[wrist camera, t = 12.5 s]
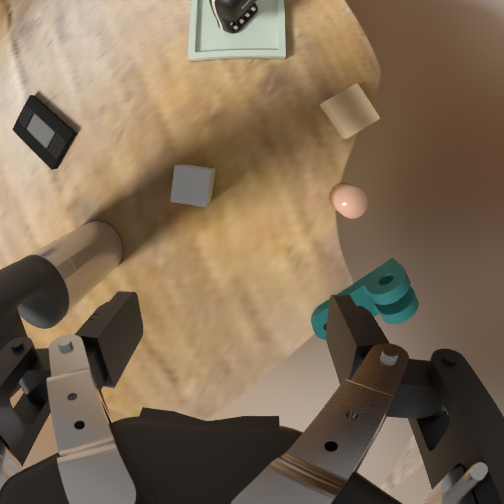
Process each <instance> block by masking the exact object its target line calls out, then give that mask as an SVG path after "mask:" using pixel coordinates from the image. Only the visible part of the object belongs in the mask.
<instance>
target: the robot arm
mask: <svg viewBox="0 0 504 504" xmlns="http://www.w3.org/2000/svg"><path fill="white" fill-rule="evenodd" d="M122 253H123V251H122V243H121V240H120V238H119V235H118V234H117V232H116V231H115V230H114V229H113V228H112V227H111V226H110V225H108V224H107V223H104V222H101V221H92V222H89V223H87V224H85V225H83V226H82V227H80V228H77V229H76V230H74V231H72V232H70V233H68V234H66V235H64V236H62V237H60V238H59V239H57V240H55V241H53V242H51V243H49V244H48V245H46V246H44V247H42V248H41V249H39V250H37V251H36V252H34V253H32V254H30V255H29V256H27V257H25V258H23V259H22V260H20V261H18V262H15V263H13V264H11V265H9V266H7V267H5V268H3V269H1V270H0V504H402V503H401V502H399V501H398V500H396V499H394V498H393V497H391V496H390V495H388V494H387V493H386V492H384V491H383V490H381V489H380V488H378V487H377V486H376V485H374V484H373V483H371V482H370V481H368V480H367V479H366V478H364V477H363V476H361V475H360V474H359V473H357V471H358V470H359V468H360V466H361V465H362V463H363V461H364V459H365V457H366V456H367V454H368V452H369V450H370V448H371V446H372V445H373V443H374V441H375V439H376V437H377V435H378V433H379V431H380V430H381V428H382V426H383V424H384V421H385V419H386V417H387V416H388V417H399V418H408V420H409V423H410V425H411V428H412V431H413V433H414V436H415V439H416V442H417V445H418V448H419V450H420V453H421V456H422V459H423V462H424V465H425V468H426V471H427V474H428V478H429V481H430V484H431V487H432V491H431V492H430V493H429V494H428V495H427V497H426V499H425V503H424V504H504V417H503V415H502V413H501V412H500V410H499V409H498V407H497V405H496V404H495V402H494V401H493V399H492V397H491V396H490V394H489V393H488V391H487V390H486V388H485V387H484V386H483V384H482V382H481V381H480V379H479V378H478V376H477V375H476V373H475V372H474V371H473V369H472V368H471V366H470V365H469V364H468V362H467V361H466V359H465V358H464V357H463V356H462V355H461V354H460V353H458V352H456V351H454V350H451V349H439V350H436V351H435V352H434V353H433V354H432V356H431V359H430V361H425V360H414V359H409V355H408V353H407V352H406V350H404V349H403V348H402V347H400V346H398V345H395V344H390V343H389V341H388V340H387V338H386V336H385V335H384V333H383V331H382V330H381V328H380V327H379V326H378V323H377V322H376V320H375V319H374V317H373V315H372V314H371V312H370V311H369V310H367V309H366V308H364V307H363V306H356V304H355V303H354V301H353V299H352V298H351V296H350V295H349V294H347V295H331V297H330V302H329V310H328V318H327V325H326V340H327V344H328V347H329V351H330V354H331V357H332V360H333V363H334V366H335V369H336V373H337V376H338V379H339V382H340V386H339V388H338V389H337V390H336V392H335V393H334V394H333V396H332V397H331V398H330V400H329V401H328V402H327V404H326V405H325V406H324V408H323V409H322V410H321V411H320V413H319V414H318V415H317V416H316V418H315V419H314V420H313V421H312V423H311V424H310V425H309V426H308V428H307V429H306V430H305V431H304V432H300V431H298V430H295V429H292V428H288V427H284V426H279V416H241V417H235V418H229V419H223V420H214V421H204V420H200V419H197V418H193V417H190V416H187V415H183V414H180V413H177V412H174V411H166V410H158V409H151V408H144V407H143V408H142V410H141V413H140V416H139V417H130V418H125V419H121V420H118V421H115V422H113V420H112V417H111V415H110V412H109V410H108V407H107V405H106V402H105V399H104V397H103V394H102V392H101V389H102V387H103V386H105V387H111V388H115V386H116V384H117V382H118V380H119V378H120V377H121V375H122V373H123V371H124V369H125V367H126V365H127V364H128V362H129V360H130V358H131V356H132V354H133V353H134V351H135V349H136V347H137V345H138V343H139V342H140V340H141V338H142V335H143V322H142V317H141V312H140V307H139V301H138V296H137V294H136V293H135V292H122V291H119V292H117V293H116V294H115V296H114V297H113V298H112V299H111V300H110V301H109V302H106V303H105V304H103V305H101V306H100V307H98V308H97V309H96V311H95V312H94V313H93V315H91V316H90V317H89V319H88V320H87V321H86V322H85V323H84V324H83V325H82V327H81V328H80V329H79V330H78V331H77V332H76V334H75V335H64V336H61V337H58V338H56V339H55V340H54V341H52V343H51V344H50V345H49V348H45V349H35V347H34V345H33V342H32V340H31V339H30V338H28V337H27V334H26V331H25V329H24V326H23V323H22V320H21V318H20V316H21V317H22V318H23V319H25V320H26V321H27V322H28V323H30V324H31V325H33V326H35V327H38V328H43V329H47V328H51V327H53V326H55V325H56V324H57V323H59V322H60V321H61V320H62V319H63V318H64V317H65V316H66V315H67V314H68V313H69V312H70V311H71V310H72V309H73V308H74V307H75V306H76V305H77V304H78V303H79V302H80V301H81V300H82V299H83V298H84V297H85V296H86V295H87V294H88V293H89V292H90V291H91V290H92V289H93V288H94V287H95V286H96V285H97V284H98V283H99V282H101V281H102V280H103V279H104V278H105V277H106V276H107V275H108V274H109V273H110V272H111V271H112V270H113V269H115V268H116V267H117V266H118V264H119V263H120V261H121V258H122ZM19 314H20V315H19ZM20 388H22V390H23V392H24V393H23V395H22V396H21V398H20V400H19V401H18V402H17V404H16V405H15V407H14V408H13V407H12V406H11V403H10V398H11V397H12V396H13V395H14V394H15V393H16V392H17V391H18V390H19V389H20ZM446 410H447V411H446ZM50 412H51V416H52V422H53V427H54V432H55V437H56V442H57V446H58V451H59V452H58V453H56V454H54V455H52V456H50V457H49V458H47V459H44V460H42V461H40V462H39V463H37V464H35V465H32V466H31V467H28V468H26V469H24V470H22V466H23V464H24V462H25V460H26V458H27V456H28V454H29V452H30V450H31V448H32V446H33V444H34V442H35V440H36V438H37V436H38V434H39V432H40V430H41V429H42V427H43V425H44V423H45V421H46V420H47V418H48V416H49V414H50ZM447 412H448V413H447ZM448 415H449V416H448Z"/></svg>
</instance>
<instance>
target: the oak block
mask: <svg viewBox="0 0 504 504" xmlns="http://www.w3.org/2000/svg"><path fill="white" fill-rule="evenodd" d="M318 106H319V108H320V109H321V111H322V112H323V114H324V115H325V117H326V118H327V119H328V121H329V122H330V124H331V125H332V127H333V128H334V130H335V132H336V133H337V135H338V136H339V138H340V139H347V138H349V137H351V136H353V135H354V134H356V133H357V132H359V131H361V130H362V129H364V128H365V127H367V126H369V125H370V124H372V123H374V122H375V121H377V120H378V119H380V117H379V116H378V114H377V112H376V110H375V109H374V107H373V106H372V104H371V103H370V101H369V99H368V98H367V96H366V95H365V93H364V92H363V90H362V89H361V87H360V86H359V84H358V83H356V84H354V85H352V86H350V87H348V88H347V89H345V90H343V91H341V92H340V93H338V94H336V95H334V96H333V97H331V98H329V99H328V100H326V101H324V102H323V103H321V104H320V105H318Z"/></svg>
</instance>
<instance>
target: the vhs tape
mask: <svg viewBox="0 0 504 504" xmlns="http://www.w3.org/2000/svg"><path fill="white" fill-rule="evenodd" d="M29 97H30V98H28V100H27V102H26V104H25V106H24V107H23V109H22V111H21V113H20V115H19V117H18V119H17V121H16V123H15V125H14V128H13V131H14V132H15V133H16V134H17V135H18V136H19V137H20V138H21V139H22V140H23V141H24V142H25V143H26V144H27V145H28V146H29V147H30V148H31V149H32V150H33V151H34V152H35V153H36V154H37V155H38V156H39V157H40V158H41V159H42V160H43V161H44V162H45V163H46V164H47V165H48V166H49V167H50V168H51V169H57V168H58V166H59V164H60V162H61V160H62V158H63V157H64V155H65V153H66V151H67V149H68V148H69V146H70V144H71V142H72V141H73V139H74V137H75V136H76V134H77V133H76V132H75V131H74V130H73V129H72V128H70V127H69V126H68V125H67V124H66V123H65V122H64V121H63V120H61V119H60V118H59V117H58V116H57V115H56V114H55V113H53V112H52V111H51V110H50V109H49V108H48V107H47V106H46V105H44V104H43V103H42V102H41V101H40V100H39V99H38V98H37V97H36V96H33V95H30V96H29Z"/></svg>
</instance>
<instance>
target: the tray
mask: <svg viewBox="0 0 504 504" xmlns="http://www.w3.org/2000/svg"><path fill="white" fill-rule="evenodd" d="M255 3H256V4H257V7H258V11H257V13H256V14H255V15H254V16H253V17H252V18H251V19H250V20H249V22H248V23H247V24H246V25H245V26H244V27H243V28H242V29H241V30H240V31H239V32H238V33H235V34H231V33H228V32H226V31H223V30H221V29H220V28H219V27H218V23H217V20H216V18H215V16H214V14H213V11H212V9H211V6H210V2H209V0H191V9H190V25H189V45H188V60H189V61H190V62H195V61H208V60H224V59H285V57H286V44H285V13H284V0H257V1H256V2H255Z"/></svg>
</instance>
